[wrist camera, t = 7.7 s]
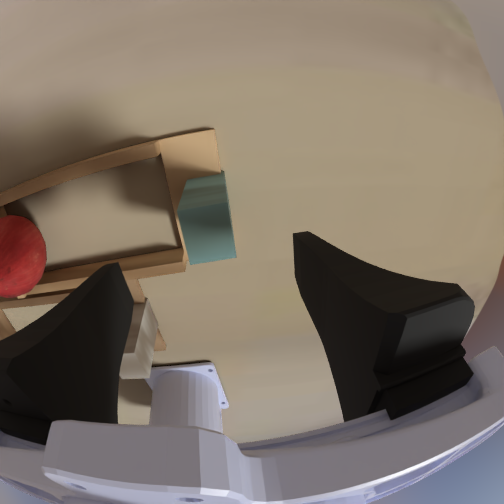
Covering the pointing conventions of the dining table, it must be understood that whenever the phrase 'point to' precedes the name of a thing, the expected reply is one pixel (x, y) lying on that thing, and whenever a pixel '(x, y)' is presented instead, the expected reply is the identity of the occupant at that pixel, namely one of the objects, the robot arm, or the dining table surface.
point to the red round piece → (20, 256)
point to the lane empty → (139, 338)
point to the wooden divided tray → (183, 200)
